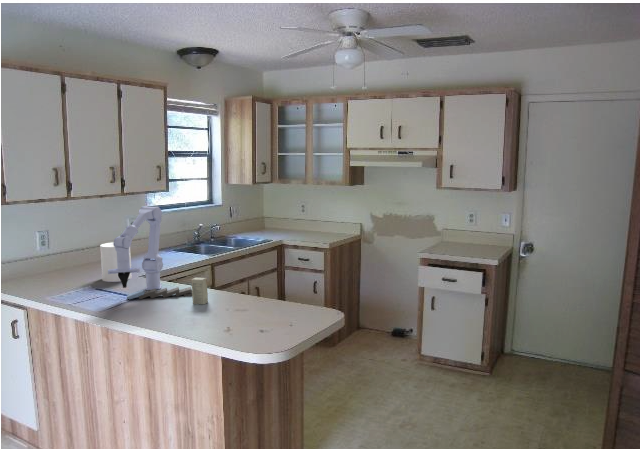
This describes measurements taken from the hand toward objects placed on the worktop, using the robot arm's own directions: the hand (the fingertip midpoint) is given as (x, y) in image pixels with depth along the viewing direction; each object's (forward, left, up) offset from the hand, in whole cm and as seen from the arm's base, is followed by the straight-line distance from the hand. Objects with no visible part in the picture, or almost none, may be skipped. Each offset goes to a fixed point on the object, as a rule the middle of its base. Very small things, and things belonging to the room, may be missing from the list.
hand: (124, 287), depth 247 cm
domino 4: (0, +18, -5) cm, 19 cm away
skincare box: (+16, +36, -6) cm, 40 cm away
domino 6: (0, +28, -6) cm, 29 cm away
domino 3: (0, +12, -5) cm, 13 cm away
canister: (-45, -10, -6) cm, 47 cm away
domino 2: (0, +7, -5) cm, 9 cm away
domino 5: (0, +24, -5) cm, 25 cm away
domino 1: (0, +1, -5) cm, 5 cm away
